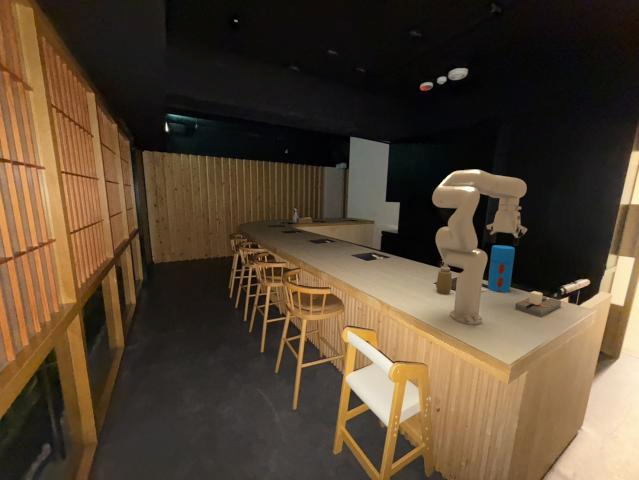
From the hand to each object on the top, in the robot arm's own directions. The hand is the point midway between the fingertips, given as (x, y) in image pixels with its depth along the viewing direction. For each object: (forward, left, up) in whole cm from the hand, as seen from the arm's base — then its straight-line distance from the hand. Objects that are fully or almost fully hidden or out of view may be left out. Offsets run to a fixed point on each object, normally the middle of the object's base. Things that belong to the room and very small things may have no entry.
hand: (503, 244), depth 130 cm
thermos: (+22, -11, -31) cm, 39 cm away
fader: (-5, -14, -28) cm, 32 cm away
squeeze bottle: (+12, +22, -31) cm, 39 cm away
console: (-3, -17, -30) cm, 35 cm away
